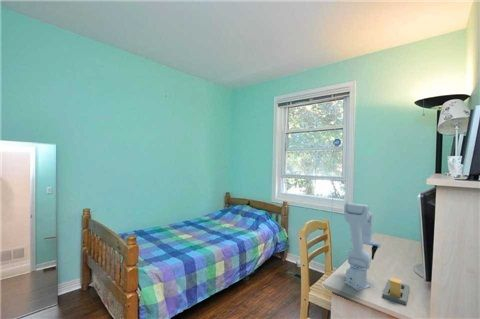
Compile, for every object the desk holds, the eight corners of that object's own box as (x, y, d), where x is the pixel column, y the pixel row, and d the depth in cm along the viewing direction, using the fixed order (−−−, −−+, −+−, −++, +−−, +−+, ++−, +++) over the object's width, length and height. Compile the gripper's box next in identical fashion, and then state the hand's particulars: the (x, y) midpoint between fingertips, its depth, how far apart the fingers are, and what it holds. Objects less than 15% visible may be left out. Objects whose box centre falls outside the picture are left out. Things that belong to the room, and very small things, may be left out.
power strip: (406, 305, 102) (406, 301, 102) (382, 296, 107) (382, 293, 107) (409, 288, 115) (409, 285, 115) (388, 282, 121) (388, 279, 121)
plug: (400, 300, 105) (400, 283, 105) (389, 296, 108) (390, 280, 108) (400, 296, 108) (401, 280, 109) (390, 293, 111) (391, 277, 111)
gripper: (381, 234, 128) (381, 258, 128) (353, 228, 138) (352, 251, 137) (379, 237, 123) (378, 262, 123) (350, 231, 132) (349, 254, 132)
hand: (364, 257), depth 130 cm, fingers open, 7 cm apart
